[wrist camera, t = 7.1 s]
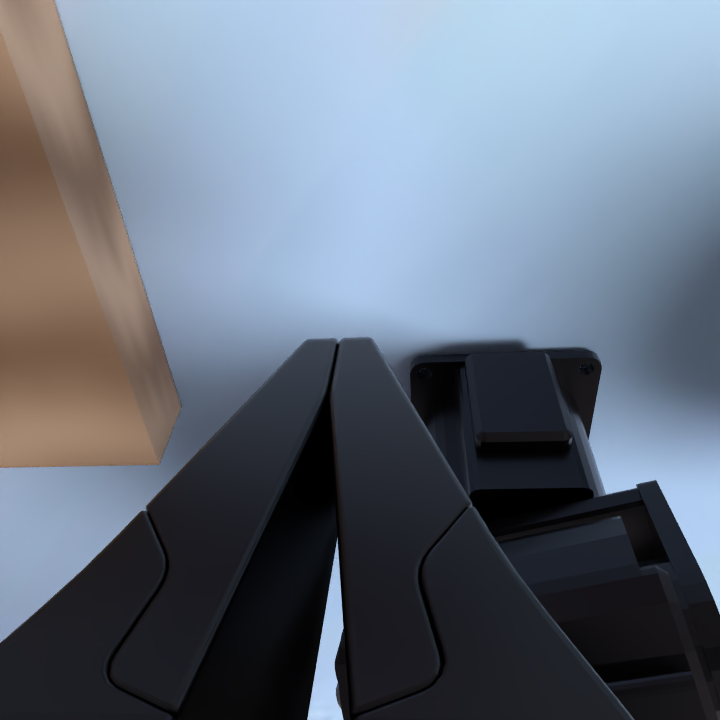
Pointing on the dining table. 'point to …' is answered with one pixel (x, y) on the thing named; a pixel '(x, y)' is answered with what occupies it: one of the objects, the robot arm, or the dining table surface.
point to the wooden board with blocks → (68, 274)
